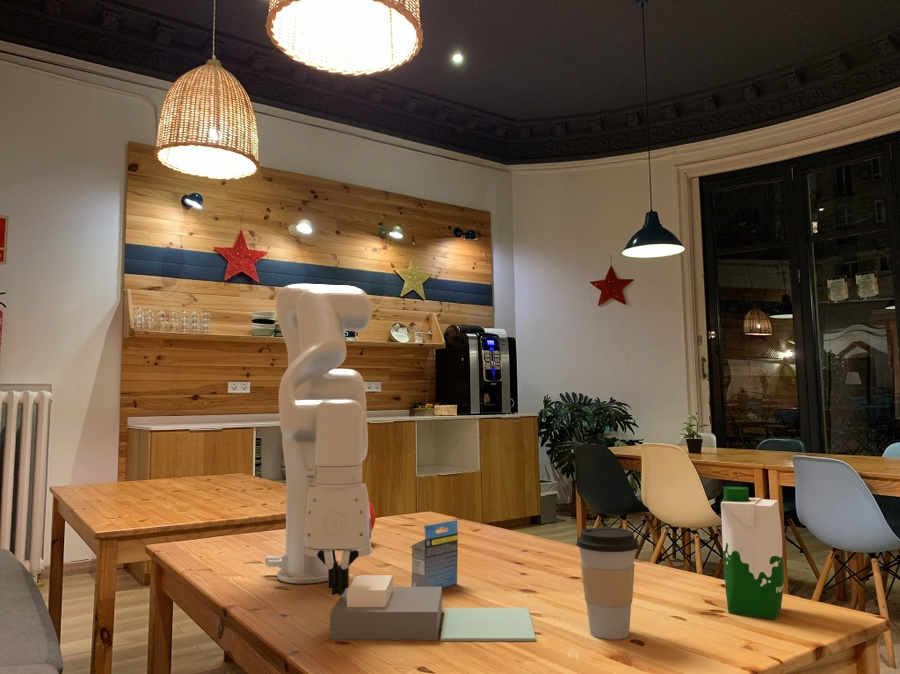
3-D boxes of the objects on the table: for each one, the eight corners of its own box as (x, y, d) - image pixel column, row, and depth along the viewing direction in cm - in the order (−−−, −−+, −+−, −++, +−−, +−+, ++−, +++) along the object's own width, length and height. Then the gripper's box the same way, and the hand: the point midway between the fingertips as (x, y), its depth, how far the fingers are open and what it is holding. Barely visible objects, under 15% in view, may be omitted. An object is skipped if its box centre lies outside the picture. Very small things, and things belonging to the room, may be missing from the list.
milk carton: (731, 600, 121) (726, 484, 123) (788, 608, 116) (782, 487, 118) (721, 613, 114) (715, 489, 115) (782, 622, 109) (775, 493, 111)
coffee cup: (571, 624, 109) (569, 527, 111) (629, 622, 110) (626, 525, 111) (588, 645, 100) (585, 539, 101) (652, 642, 101) (648, 537, 102)
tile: (346, 607, 106) (346, 590, 106) (356, 590, 115) (356, 575, 115) (385, 607, 106) (385, 590, 106) (392, 590, 115) (392, 575, 115)
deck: (330, 639, 103) (330, 612, 104) (347, 611, 117) (347, 586, 118) (437, 639, 103) (437, 611, 103) (441, 611, 117) (441, 586, 117)
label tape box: (444, 580, 136) (443, 517, 137) (459, 584, 134) (458, 519, 135) (410, 590, 130) (410, 523, 131) (425, 594, 127) (425, 525, 128)
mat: (440, 640, 102) (440, 638, 102) (445, 610, 117) (445, 607, 117) (535, 641, 102) (535, 638, 102) (528, 610, 117) (528, 607, 117)
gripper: (286, 479, 109) (285, 599, 107) (381, 478, 108) (381, 599, 107) (299, 474, 117) (298, 586, 115) (387, 473, 116) (388, 586, 114)
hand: (338, 592), depth 111 cm, fingers closed
